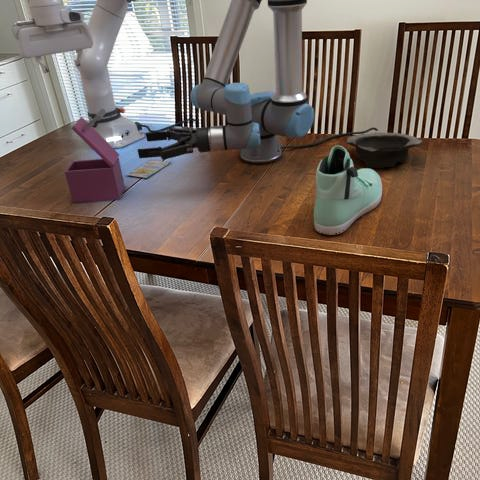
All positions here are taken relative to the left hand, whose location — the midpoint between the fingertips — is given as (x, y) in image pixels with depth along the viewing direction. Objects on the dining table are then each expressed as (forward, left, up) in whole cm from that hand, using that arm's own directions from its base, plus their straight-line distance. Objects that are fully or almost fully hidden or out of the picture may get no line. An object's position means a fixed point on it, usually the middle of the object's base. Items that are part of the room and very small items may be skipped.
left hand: (62, 69), depth 138 cm
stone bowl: (-79, +59, -40) cm, 107 cm away
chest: (-1, +1, -40) cm, 40 cm away
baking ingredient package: (-24, -3, -40) cm, 47 cm away
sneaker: (-42, +71, -40) cm, 92 cm away
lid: (-3, +3, -23) cm, 23 cm away
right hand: (-13, +14, -24) cm, 31 cm away
